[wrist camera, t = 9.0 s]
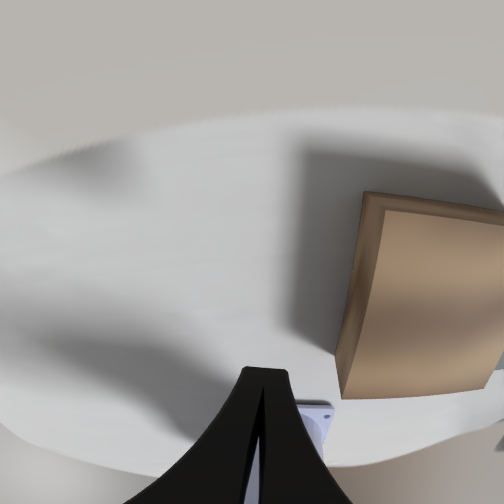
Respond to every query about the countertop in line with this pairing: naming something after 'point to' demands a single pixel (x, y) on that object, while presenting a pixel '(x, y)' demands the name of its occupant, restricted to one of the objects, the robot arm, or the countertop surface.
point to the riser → (422, 299)
